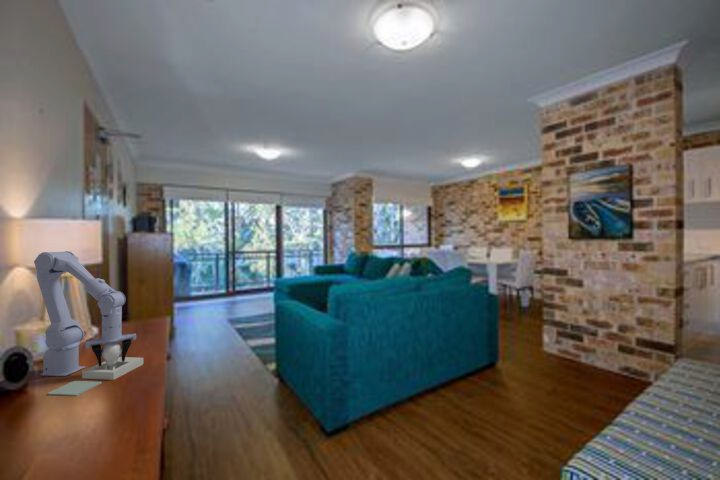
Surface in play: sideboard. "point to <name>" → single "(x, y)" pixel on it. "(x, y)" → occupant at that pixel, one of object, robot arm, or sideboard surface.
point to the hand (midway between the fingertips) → (111, 363)
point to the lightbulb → (111, 354)
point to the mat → (74, 388)
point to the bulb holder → (120, 370)
